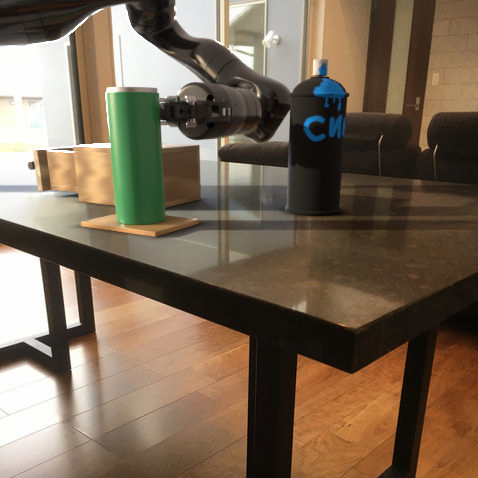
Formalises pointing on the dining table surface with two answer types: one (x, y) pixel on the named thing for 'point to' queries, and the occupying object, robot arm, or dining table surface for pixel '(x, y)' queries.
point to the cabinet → (174, 172)
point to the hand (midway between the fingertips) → (138, 111)
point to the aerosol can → (316, 144)
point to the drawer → (55, 169)
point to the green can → (136, 154)
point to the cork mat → (148, 230)
